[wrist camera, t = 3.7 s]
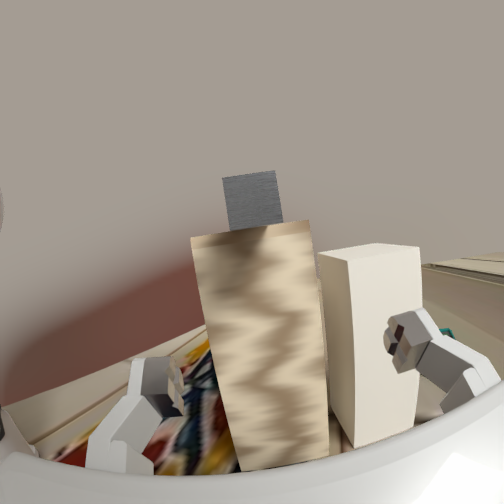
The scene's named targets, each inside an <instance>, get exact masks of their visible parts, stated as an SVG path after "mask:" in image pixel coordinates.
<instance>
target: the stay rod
mask: <svg viewBox="0 0 504 504" xmlns="http://www.w3.org/2000/svg"><path fill="white" fill-rule="evenodd" d="M222 180H223V187H224V193H225V200H226V206H227V213H228V220H229V227H230V231H236V230H243V229H249V228H256V227H262V226H269V225H274V224H279V223H283V217H282V211H281V204H280V198H279V192H278V186H277V180H276V173H275V171H267V172H259V173H252V174H245V175H239V176H232V177H225V178H222Z"/></svg>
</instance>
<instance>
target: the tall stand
mask: <svg viewBox="0 0 504 504" xmlns="http://www.w3.org/2000/svg"><path fill="white" fill-rule="evenodd" d="M190 240H191V246H192V252H193V259H194V264H195V270H196V276H197V281H198V287H199V292H200V298H201V303H202V308H203V313H204V318H205V324H206V329H207V334H208V339H209V343H210V348H211V353H212V357H213V362H214V366H215V371H216V375H217V380H218V384H219V388H220V392H221V396H222V401H223V405H224V409H225V413H226V417H227V421H228V424H229V428H230V432H231V436H232V440H233V443H234V447H235V451H236V454H237V458H238V461H239V465H240V468H241V472H242V471H250V470H258V469H265V468H272V467H278V466H283V465H289V464H294V463H299V462H304V461H308V460H313V459H317V458H321V457H325V456H329V429H328V406H327V388H326V372H325V359H324V346H323V335H322V324H321V314H320V304H319V295H318V286H317V278H316V270H315V262H314V254H313V247H312V240H311V232H310V225H309V220H304V221H296V222H289V223H282V224H276V225H269V226H262V227H256V228H249V229H243V230H236V231H230V232H223V233H218V234H211V235H205V236H199V237H193V238H190Z"/></svg>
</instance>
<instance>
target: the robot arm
mask: <svg viewBox="0 0 504 504" xmlns="http://www.w3.org/2000/svg"><path fill="white" fill-rule="evenodd" d="M3 211H4V206H3V197H2V193H1V189H0V230H1V226H2V221H3ZM387 324H388V326H389V327H388V328H387V329H386V330H385V331H384V335H383V343H384V346H385V349H386V351H387V353H389V354H390V355H392V356H393V358H392V363H393V365H394V367H395V369H396V371H397V373H398V374H400V373H403V372H406V371H409V370H412V369H415V368H416V370H417V371H418V372H420V373H421V374H422V375H423V376H425V377H426V378H427V379H429V380H430V381H431V382H433V383H434V384H435V385H437V386H438V387H439V388H441V389H442V390H443V391H445V392H446V393H447V394H446V395H445V396H444V398H443V399H442V400H441V402H440V406H441V408H442V410H443V413H444V414H443V415H441V416H439V417H437V418H435V419H433V420H431V421H429V422H426V423H424V424H422V425H420V426H417V427H415V428H413V429H410V430H408V431H406V432H403V433H401V434H398V435H396V436H393V437H390V438H388V439H385V440H382V441H379V442H376V443H374V444H371V445H368V446H365V447H362V448H358V449H355V450H352V451H348V452H345V453H342V454H338V455H334V456H330V457H327V458H323V459H318V460H314V461H310V462H305V463H300V464H295V465H290V466H285V467H279V468H273V469H266V470H259V471H252V472H243V473H233V474H220V475H201V476H159V475H154V472H153V462H152V461H151V460H149V459H148V458H146V457H145V456H143V455H142V452H143V450H144V449H145V447H146V445H147V444H148V442H149V440H150V439H151V437H152V436H153V434H154V432H155V431H156V429H157V427H158V426H159V424H160V422H161V421H162V419H163V417H179V416H184V401H183V399H182V397H181V396H180V395H181V394H182V393H183V391H184V382H183V376H182V373H181V370H180V368H178V367H176V361H175V359H174V357H173V356H168V357H151V358H134V359H133V361H132V363H131V369H130V375H129V382H128V389H127V396H123V397H122V398H121V399H120V400H119V401H118V403H117V404H116V405H115V406H114V407H113V409H112V410H111V411H110V412H109V413H108V415H107V416H106V417H105V418H104V419H103V421H102V422H101V423H100V424H99V425H98V427H97V428H96V429H95V430H94V431H93V433H92V434H91V435H90V436H89V441H88V448H87V455H86V464H85V468H83V467H78V466H73V465H68V464H63V463H59V462H54V461H50V460H46V459H42V458H39V453H38V451H37V449H36V448H35V447H34V446H33V445H28V443H27V442H26V440H25V439H24V437H23V436H22V434H21V433H20V431H19V429H18V428H17V426H16V425H15V423H14V421H13V420H12V418H11V417H10V415H9V413H8V412H7V411H4V410H3V409H1V406H0V504H504V379H503V380H502V381H501V379H500V377H499V376H498V374H497V372H496V371H495V369H494V367H493V366H492V364H491V362H490V361H489V359H488V358H487V357H485V356H483V355H482V354H480V353H478V352H476V351H474V350H473V349H471V348H469V347H467V346H465V345H463V344H462V343H460V342H458V341H456V340H454V339H452V338H451V337H449V336H447V335H444V336H443V335H442V333H441V332H440V330H439V329H438V327H437V326H436V324H435V323H434V321H433V320H432V318H431V317H430V316H429V314H428V313H427V311H426V310H425V309H424V308H418V309H415V310H412V311H408V312H404V313H401V314H398V315H394V316H391V317H390V318H389V319H388V322H387Z"/></svg>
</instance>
